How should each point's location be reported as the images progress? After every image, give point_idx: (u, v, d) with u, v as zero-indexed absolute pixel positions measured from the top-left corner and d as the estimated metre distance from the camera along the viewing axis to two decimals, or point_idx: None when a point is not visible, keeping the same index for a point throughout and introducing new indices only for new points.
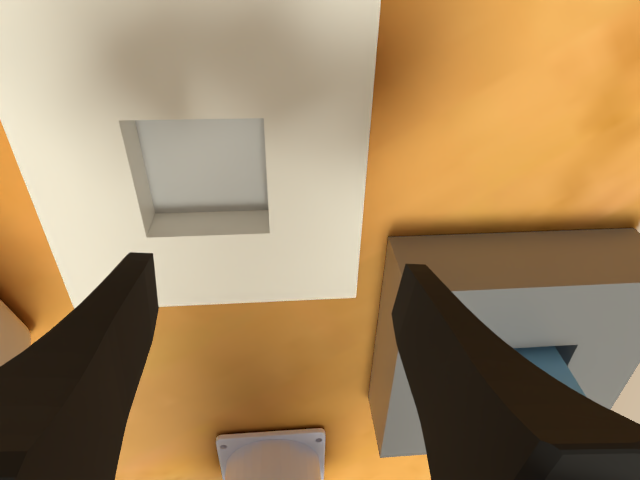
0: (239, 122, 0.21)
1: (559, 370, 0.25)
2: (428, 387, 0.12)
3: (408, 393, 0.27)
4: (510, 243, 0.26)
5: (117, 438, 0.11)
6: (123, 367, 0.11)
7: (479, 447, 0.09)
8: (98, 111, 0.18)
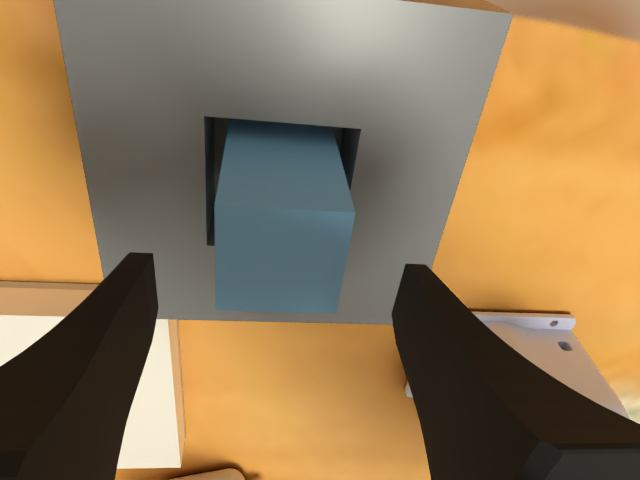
0: None
1: None
2: (428, 386, 0.12)
3: None
4: None
5: (117, 438, 0.11)
6: (123, 367, 0.11)
7: (479, 447, 0.09)
8: None
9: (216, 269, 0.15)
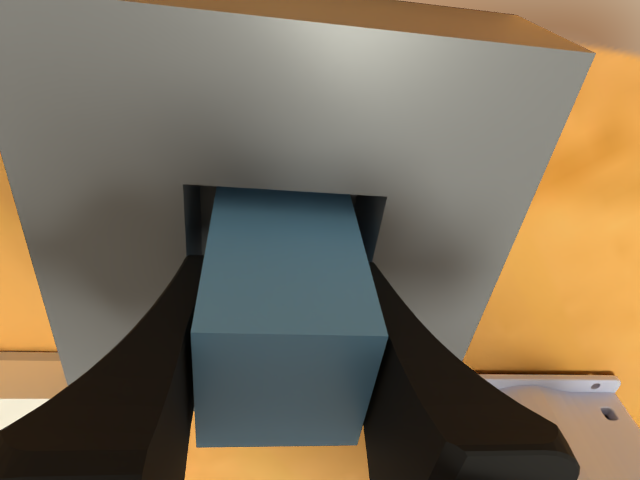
0: None
1: None
2: None
3: None
4: None
5: (186, 437, 0.11)
6: None
7: (403, 448, 0.09)
8: None
9: (196, 404, 0.11)
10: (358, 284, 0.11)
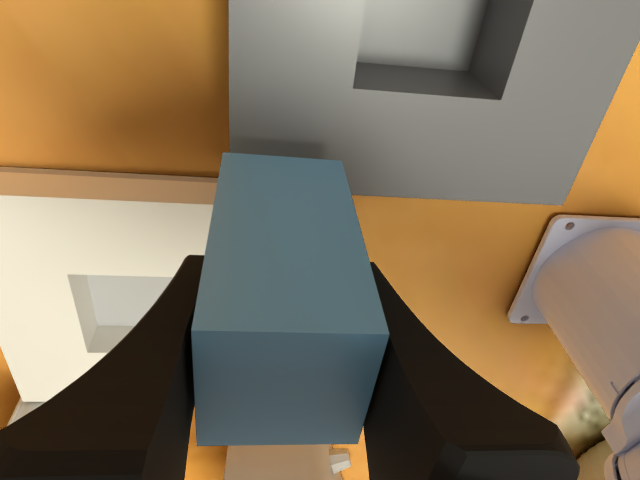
0: None
1: None
2: None
3: (422, 177, 0.19)
4: None
5: (186, 437, 0.11)
6: (192, 367, 0.11)
7: (403, 448, 0.09)
8: (82, 360, 0.26)
9: (196, 403, 0.11)
10: (359, 282, 0.11)
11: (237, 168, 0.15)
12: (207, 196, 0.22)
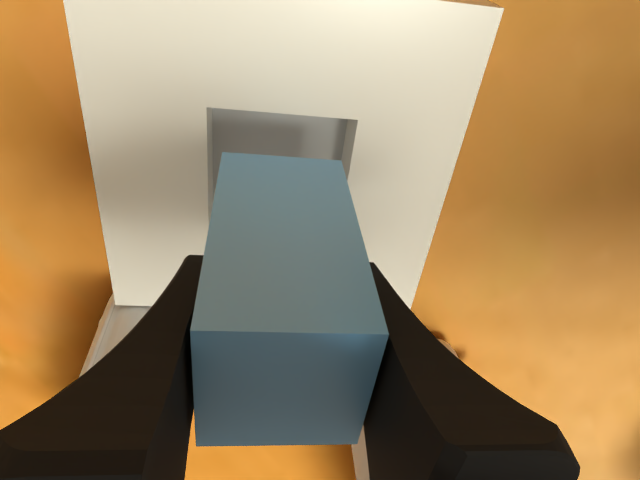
0: (236, 118, 0.19)
1: None
2: None
3: None
4: None
5: (186, 437, 0.11)
6: (191, 368, 0.11)
7: (403, 448, 0.09)
8: (200, 246, 0.20)
9: (195, 403, 0.11)
10: (358, 282, 0.11)
11: (237, 167, 0.15)
12: None
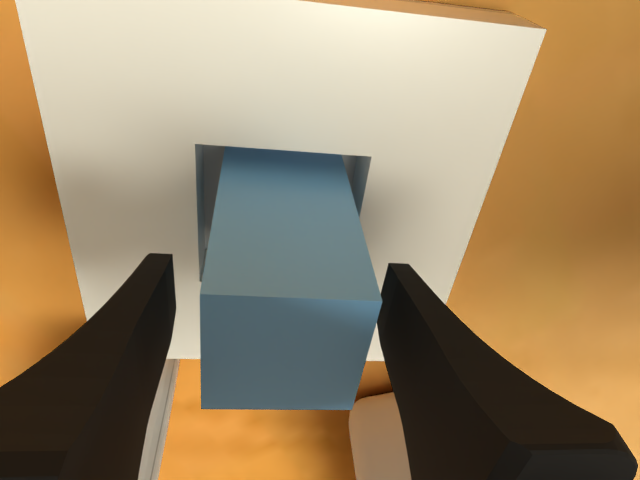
0: None
1: None
2: (408, 386, 0.12)
3: None
4: None
5: (140, 438, 0.11)
6: (146, 368, 0.11)
7: (455, 447, 0.09)
8: (190, 294, 0.18)
9: (202, 365, 0.11)
10: (355, 256, 0.12)
11: (240, 153, 0.16)
12: (431, 11, 0.14)
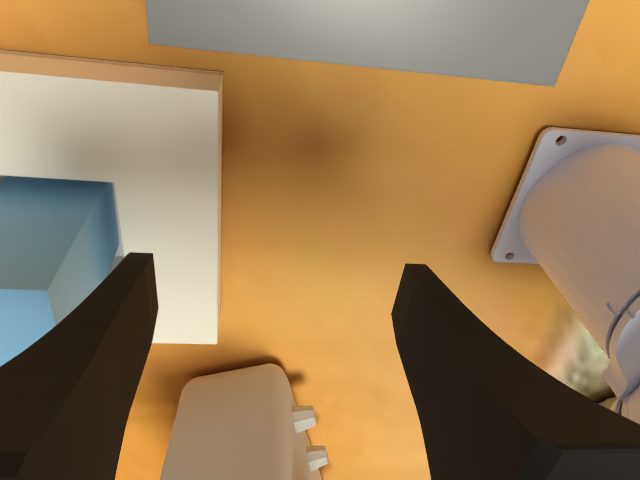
0: None
1: None
2: (428, 387, 0.12)
3: (386, 38, 0.16)
4: None
5: (117, 438, 0.11)
6: (123, 367, 0.11)
7: (479, 447, 0.09)
8: None
9: None
10: (52, 259, 0.17)
11: (19, 178, 0.21)
12: (135, 77, 0.18)
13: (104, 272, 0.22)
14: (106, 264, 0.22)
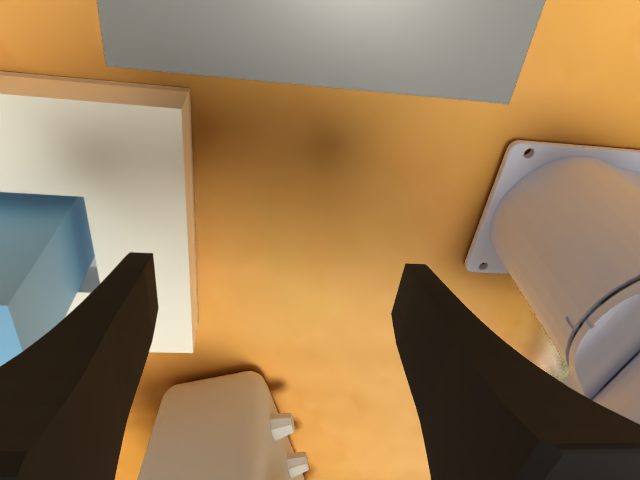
0: None
1: None
2: (427, 386, 0.12)
3: (338, 58, 0.16)
4: None
5: (117, 438, 0.11)
6: (123, 367, 0.11)
7: (479, 447, 0.09)
8: None
9: None
10: (16, 273, 0.17)
11: None
12: (100, 95, 0.19)
13: (77, 283, 0.22)
14: (80, 276, 0.23)
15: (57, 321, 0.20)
